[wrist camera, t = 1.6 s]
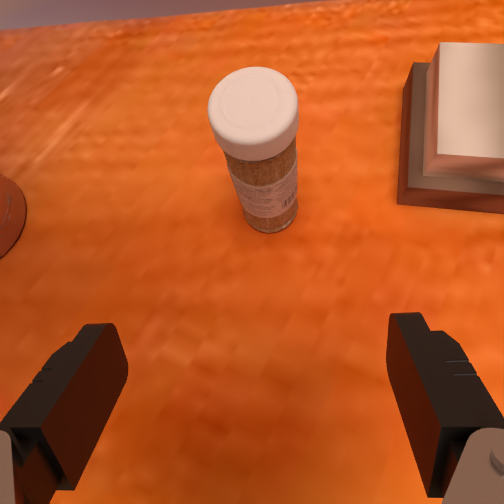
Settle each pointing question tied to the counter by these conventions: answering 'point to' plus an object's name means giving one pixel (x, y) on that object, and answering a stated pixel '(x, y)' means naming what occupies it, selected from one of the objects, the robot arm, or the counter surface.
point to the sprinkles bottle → (259, 143)
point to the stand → (454, 130)
